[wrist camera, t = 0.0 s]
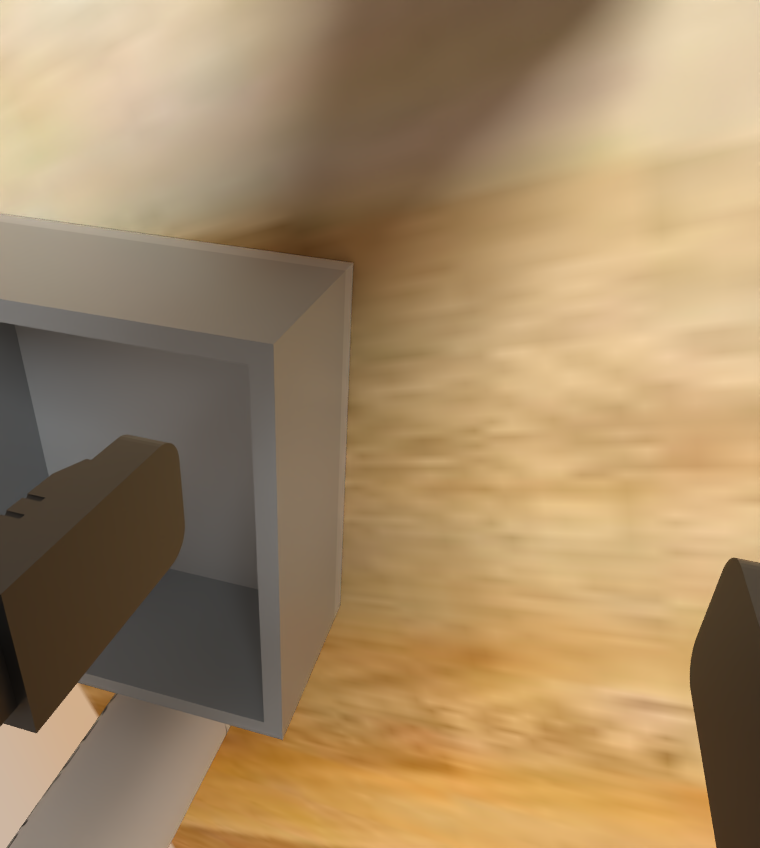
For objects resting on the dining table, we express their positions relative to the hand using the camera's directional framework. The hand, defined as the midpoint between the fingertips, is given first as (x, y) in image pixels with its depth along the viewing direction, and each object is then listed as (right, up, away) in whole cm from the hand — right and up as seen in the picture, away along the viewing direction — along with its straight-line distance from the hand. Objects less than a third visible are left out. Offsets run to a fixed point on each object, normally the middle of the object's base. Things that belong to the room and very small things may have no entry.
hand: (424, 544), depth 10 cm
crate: (-10, +2, +23) cm, 25 cm away
